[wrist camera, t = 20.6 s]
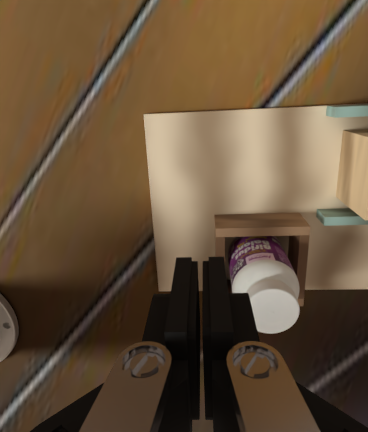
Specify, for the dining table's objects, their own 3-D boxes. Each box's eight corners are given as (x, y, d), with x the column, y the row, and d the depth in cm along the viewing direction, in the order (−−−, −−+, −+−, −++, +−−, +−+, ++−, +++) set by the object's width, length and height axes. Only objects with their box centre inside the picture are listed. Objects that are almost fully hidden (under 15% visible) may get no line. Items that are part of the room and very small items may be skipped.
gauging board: (159, 287, 36) (156, 303, 34) (145, 113, 30) (139, 116, 27) (390, 284, 35) (406, 301, 32) (425, 100, 28) (449, 101, 26)
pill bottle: (258, 216, 32) (279, 266, 23) (292, 253, 33) (326, 314, 24) (215, 250, 34) (220, 309, 25) (250, 285, 35) (266, 353, 26)
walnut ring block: (215, 286, 35) (216, 306, 32) (214, 214, 32) (215, 228, 29) (293, 285, 34) (303, 306, 31) (299, 212, 32) (310, 226, 28)
